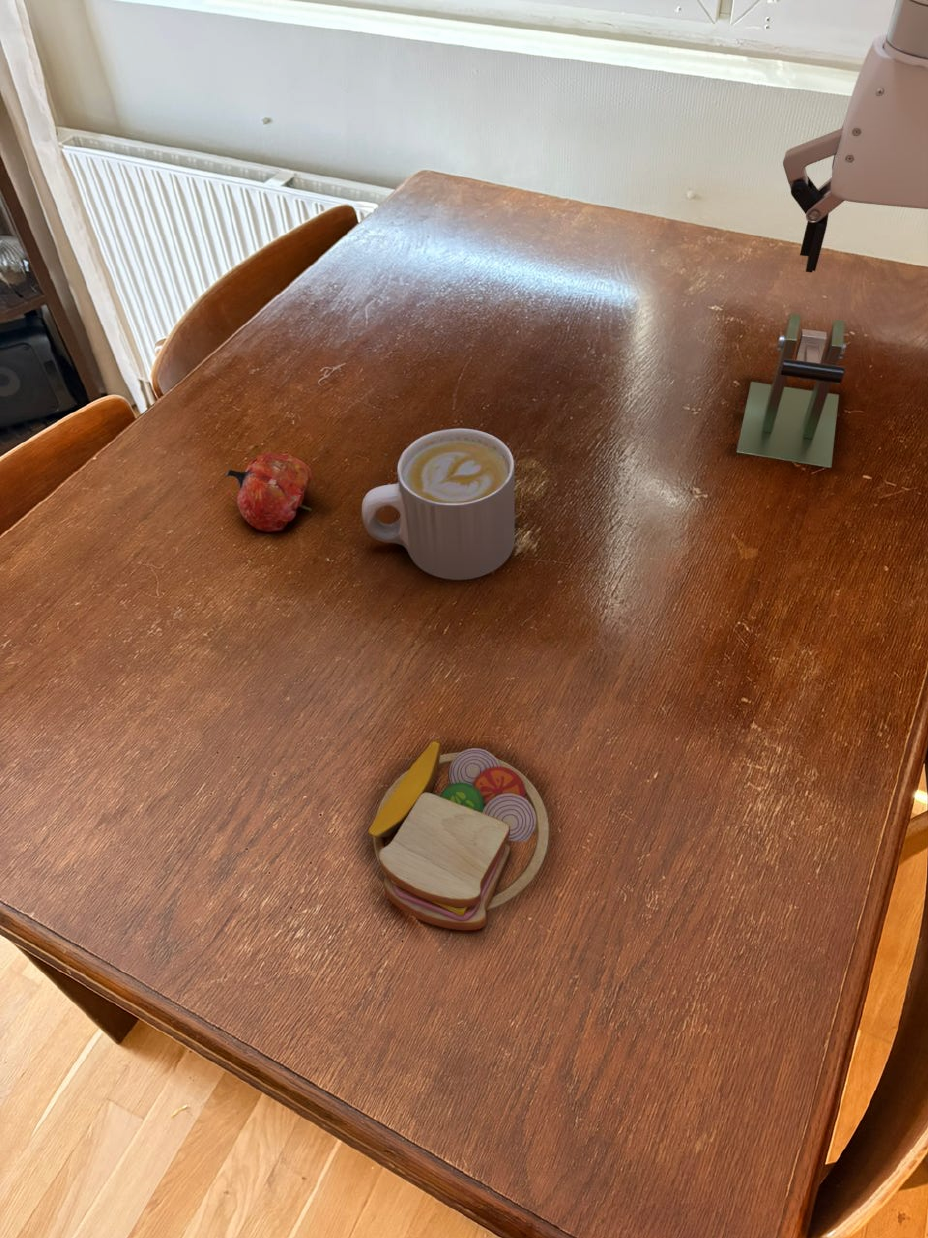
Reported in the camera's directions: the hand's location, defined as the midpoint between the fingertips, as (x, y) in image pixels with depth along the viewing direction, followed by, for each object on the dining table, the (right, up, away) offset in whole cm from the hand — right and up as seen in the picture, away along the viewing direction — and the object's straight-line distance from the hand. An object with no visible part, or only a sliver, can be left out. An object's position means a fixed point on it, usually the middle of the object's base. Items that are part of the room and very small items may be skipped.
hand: (873, 270), depth 72 cm
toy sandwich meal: (-33, -44, -7) cm, 55 cm away
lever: (-1, -5, +10) cm, 11 cm away
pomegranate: (-50, -18, +16) cm, 56 cm away
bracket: (0, -9, +20) cm, 22 cm away
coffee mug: (-35, -21, +12) cm, 43 cm away
